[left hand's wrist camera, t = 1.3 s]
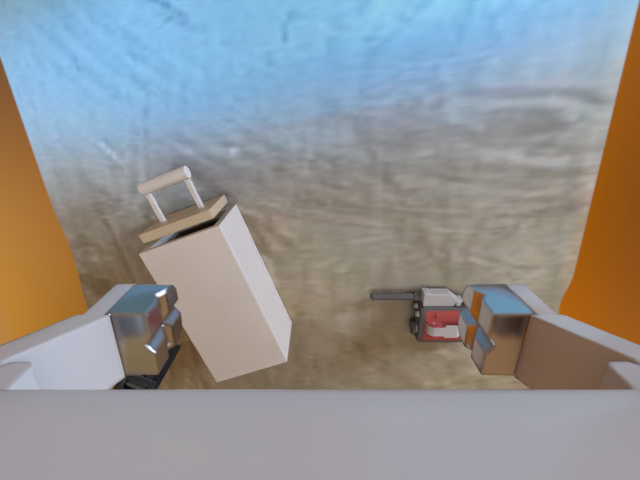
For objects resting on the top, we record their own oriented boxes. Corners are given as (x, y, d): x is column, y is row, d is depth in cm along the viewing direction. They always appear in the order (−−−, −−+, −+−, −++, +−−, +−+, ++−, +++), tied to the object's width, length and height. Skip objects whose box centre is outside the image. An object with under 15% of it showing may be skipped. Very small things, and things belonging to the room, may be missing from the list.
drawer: (142, 180, 48) (113, 194, 41) (206, 156, 47) (187, 165, 40) (224, 328, 57) (212, 359, 50) (280, 311, 56) (274, 340, 49)
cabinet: (168, 228, 52) (138, 254, 43) (236, 203, 50) (218, 225, 42) (231, 341, 59) (216, 382, 51) (291, 322, 58) (287, 361, 49)
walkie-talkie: (497, 285, 55) (369, 285, 55) (512, 301, 51) (373, 301, 51) (487, 332, 58) (366, 332, 58) (500, 350, 54) (370, 350, 54)
